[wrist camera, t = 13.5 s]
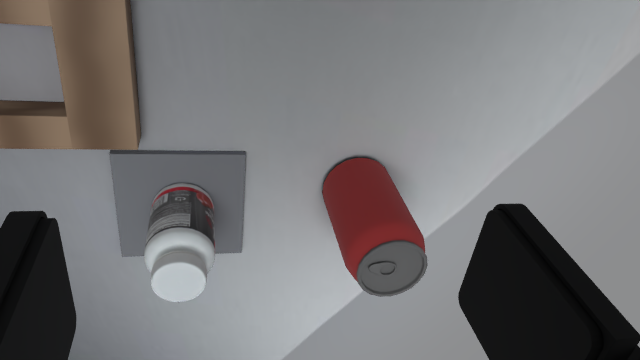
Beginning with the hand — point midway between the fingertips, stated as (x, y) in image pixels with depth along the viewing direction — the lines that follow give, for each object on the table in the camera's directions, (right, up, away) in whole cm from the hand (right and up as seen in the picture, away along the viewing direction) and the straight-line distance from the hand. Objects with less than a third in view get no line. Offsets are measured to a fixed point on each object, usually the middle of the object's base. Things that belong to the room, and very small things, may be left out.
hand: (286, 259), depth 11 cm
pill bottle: (-11, 0, +34) cm, 36 cm away
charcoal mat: (-12, 0, +35) cm, 37 cm away
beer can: (+4, +1, +37) cm, 37 cm away
